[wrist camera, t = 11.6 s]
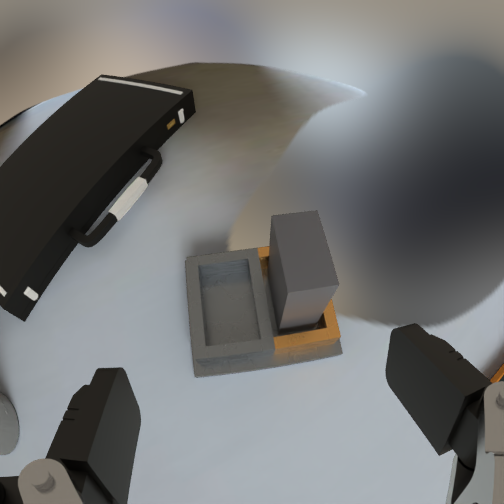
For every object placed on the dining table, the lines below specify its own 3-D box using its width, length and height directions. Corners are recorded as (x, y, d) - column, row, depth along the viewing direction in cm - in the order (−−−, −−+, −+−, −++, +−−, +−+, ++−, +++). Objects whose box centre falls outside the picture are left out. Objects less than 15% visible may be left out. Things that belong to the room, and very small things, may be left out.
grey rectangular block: (313, 327, 35) (339, 284, 24) (277, 334, 34) (288, 292, 24) (300, 271, 38) (317, 210, 27) (267, 276, 38) (271, 215, 27)
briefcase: (-36, 249, 41) (46, 343, 34) (-54, 233, 36) (22, 330, 29) (107, 93, 60) (219, 120, 54) (100, 73, 55) (217, 94, 49)
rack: (340, 354, 34) (350, 347, 30) (196, 377, 33) (189, 372, 29) (313, 246, 40) (318, 229, 37) (186, 263, 39) (180, 248, 36)
